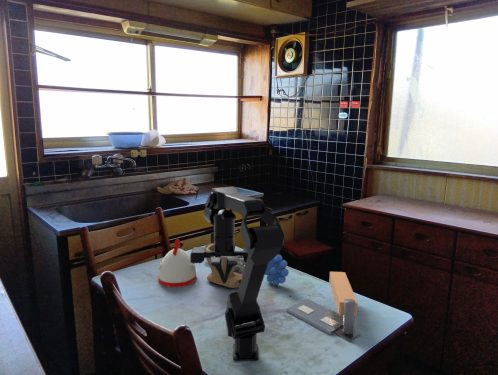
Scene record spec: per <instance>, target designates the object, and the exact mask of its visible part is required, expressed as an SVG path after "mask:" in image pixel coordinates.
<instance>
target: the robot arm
mask: <svg viewBox="0 0 498 375" xmlns="http://www.w3.org/2000/svg"><path fill="white" fill-rule="evenodd" d="M234 212H235V213H238V214H240V217H241V219H242V220H241V224H240V228H239V233H240V236H241V239H242V242H243V248H242V249H243V250H236V243H235V242H236V241H235V240H236V239H235V219H237V217H236V214H235V213H234ZM202 213H203V218H204V219H205V220H206V222H208V223H209V224H210V225H212V226H213V232H211V233H210V241H209V242H211V244H214V251H206V247H205V246H194V247H192V249H191V251H190V255H189V256H190V262H191V263H195V264H202V263H203V262H204V261H205V259H206V258H211V260H212V261H211V265H212V266H215V268H216V269H217V271H218V273H219V275H220V277H221V280H222V282H223V283H226V281H227V279H228V276H229V273H230V271H231V269H232V268H233V266H237V258H242V259H244V261H245V262H246V265H245V269H244V272H242V275H243V276H242V280H241V283H240V287H238V290H237V291H235V292H230V294H229V295H228V299H227V302H226V304H227V305H226V309H225V310H224V318H225V325H226V330H227V337H230V338H232V339H233V340H234V343H233V345H232V360H233V361H259V347H258V346H259V345H258V342H257V339H258V337H257V334H261V333H264V332H265V329H266V325H265V322H264V318H263V315H262V312H261V307H260V304H259V303H258V300H257V299H258V297H259V293H260V290H261V287H262V284H263V280H264V277H265V276H266V275H265V272H266V269H267V265H268V263H269V261H271V260H272V259H273V258H274V257H276V256H277V255H280V254H279V253H280V251H281V250H282V248H283V245H284V243H285V234H284V230H283V228H282V226H281V224H280V221H279V220H278V218H277V216H275V215H274V213H272V212H271V211H270V210H269V209H267V207H266V205H265V203H264V201H263V199H261V198H255V197H252V196H247V195H245V194H241V193H240V192H239V189H238V188H236V187H235V186H224V187H223V186H221V187H214V188H213V187H212V188H211V192H209V194H208V196H207V200H206V202H205V208H204V209H203V212H202ZM249 217H250V218H251V217H259V218H260V219H261V220H262V221H263V222H264V224H266V225H261V226H260V225H259V226H251V227H249V226H248V224H247V221H248V218H249ZM234 249H235V251H234ZM222 258H227V263H226V270H225V276H224V269H223V260H222Z"/></svg>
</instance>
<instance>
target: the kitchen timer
mask: <svg viewBox="0 0 498 375" xmlns="http://www.w3.org/2000/svg"><path fill="white" fill-rule="evenodd" d="M174 240H175V241H174V245H173V249H171V250H169V251H168V252H167V253H166V254H165V256H164V257H163V258H162V259H161V260H160V263H159V268H158V278H157V279H158V284H160V285H162V286H164V287H168V288H180V287H185V286H189V285H191V284H192V283H194V282H195V281H196V280H197V271H196V265H195V264H196V263H191V262H190V255H189V253H188V252H186V251H185V250H184V249H182V248H180V246H181V244H180V243H181V241H180V239H179V238H176V239H174Z"/></svg>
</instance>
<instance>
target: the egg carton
mask: <svg viewBox="0 0 498 375" xmlns="http://www.w3.org/2000/svg"><path fill="white" fill-rule="evenodd" d="M244 265H246V262H245V261H244V258H237V265H236V266H233V272H237V271H238V272H240V273H243V272H244V269H245V266H244Z"/></svg>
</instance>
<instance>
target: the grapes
mask: <svg viewBox="0 0 498 375" xmlns="http://www.w3.org/2000/svg"><path fill="white" fill-rule="evenodd" d="M287 266H288V262H287V261H286V260H284V259H283V257H282V255H281V254H278V255H277V256H276V257H274V258H273V259H272V260H271V261H269V263H268V265H267V269H266V272H265V275H264V276H266V281H267V282H268V283H271V284H273V286H279V284H284V283H285V282H286V281H287V279H286V277H288V276H289V274H290V271H289V269H288V268H287Z"/></svg>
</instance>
